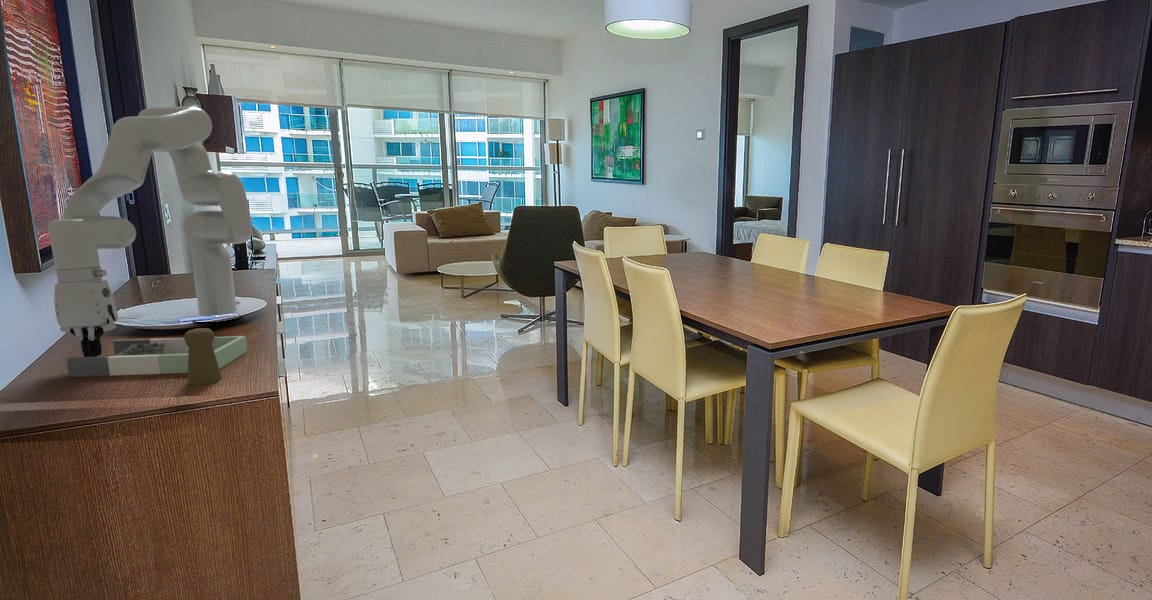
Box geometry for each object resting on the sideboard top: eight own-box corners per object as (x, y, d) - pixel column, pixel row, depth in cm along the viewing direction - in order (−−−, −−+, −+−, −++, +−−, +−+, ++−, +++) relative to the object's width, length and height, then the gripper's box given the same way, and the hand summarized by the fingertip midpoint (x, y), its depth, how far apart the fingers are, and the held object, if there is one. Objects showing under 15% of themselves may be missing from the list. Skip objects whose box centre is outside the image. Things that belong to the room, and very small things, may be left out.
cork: (221, 382, 120) (215, 330, 118) (186, 387, 117) (179, 334, 115) (222, 374, 125) (216, 324, 123) (188, 379, 122) (181, 327, 120)
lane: (118, 355, 139) (116, 339, 138) (247, 351, 142) (245, 335, 142) (69, 377, 124) (66, 358, 123) (215, 371, 127) (213, 354, 126)
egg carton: (150, 367, 127) (145, 350, 126) (111, 373, 125) (106, 355, 125) (171, 353, 137) (167, 336, 136) (135, 357, 136) (131, 341, 135)
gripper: (127, 272, 132) (139, 350, 135) (55, 273, 130) (69, 352, 134) (104, 277, 125) (117, 360, 128) (28, 278, 123) (43, 362, 127)
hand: (93, 356), depth 131 cm, fingers closed
